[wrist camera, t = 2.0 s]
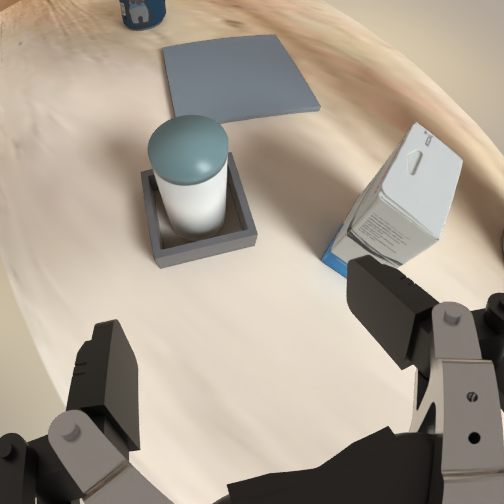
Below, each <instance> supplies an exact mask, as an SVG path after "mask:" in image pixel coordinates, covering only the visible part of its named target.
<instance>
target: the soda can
mask: <svg viewBox="0 0 504 504" xmlns="http://www.w3.org/2000/svg"><path fill="white" fill-rule="evenodd" d="M119 1H120V6H121V12H122V17H123V22H124V24H125V25H126V26H127V27H128V28H130V29H131V30H136V31H139V30H146V29H150V28H153V27H155V26H157V25H159V24H160V23H161V22H162V20H163V18H164V17H165V14H166V7H165V0H119Z"/></svg>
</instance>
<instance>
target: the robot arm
mask: <svg viewBox="0 0 504 504" xmlns="http://www.w3.org/2000/svg"><path fill="white" fill-rule="evenodd" d="M503 252H504V234H503ZM347 303H348V306H349V308H350V310H351V312H352V313H353V314H354V315H355V317H356V318H357V319H358V320H359V321H360V322H361V323H362V325H363V326H364V327H365V328H366V329H367V330H368V331H369V333H370V334H371V335H372V336H373V337H374V338H375V339H376V341H377V342H378V343H379V344H380V345H381V346H382V348H383V349H384V350H385V351H386V352H387V353H388V355H389V356H390V357H391V358H392V359H393V360H394V362H395V363H396V364H397V365H398V366H399V367H400V369H401V370H403V369H405V368H407V367H409V366H411V365H413V364H414V365H415V367H416V368H417V369H416V372H415V383H414V402H413V415H412V422H411V426H410V429H409V433H399V434H394V433H393V432H392V430H391V429H390V428H389V426H387V427H385V428H383V429H381V430H379V431H377V432H375V433H373V434H371V435H369V436H367V437H365V438H362V439H360V440H358V441H356V442H354V443H352V444H351V445H349V446H348V447H347V448H345V449H344V450H343V451H341V452H340V453H338V454H337V455H336V456H334V457H333V458H331V459H330V460H328V461H327V462H325V463H324V464H322V465H321V466H319V467H317V468H314V469H307V470H299V471H291V472H280V473H269V474H266V475H262V476H258V477H255V478H251V479H247V480H243V481H239V482H235V483H231V484H227V488H228V491H229V494H228V495H226V496H224V497H222V498H221V499H219V500H217V501H216V502H214V503H213V504H504V440H503V427H502V417H501V409H502V410H503V412H504V293H495V294H492V295H491V296H490V297H489V299H488V302H487V305H486V308H484V309H479V310H474V311H470V310H469V309H468V308H466V307H465V306H463V305H461V304H459V303H456V302H442V303H439V302H438V301H437V300H435V299H434V298H433V297H432V296H431V295H429V294H428V293H427V292H426V291H424V290H423V289H422V288H421V287H419V286H418V285H417V284H416V283H415V284H414V282H413V281H412V280H411V279H409V278H406V275H404V274H403V273H402V272H400V271H399V270H398V269H396V268H394V267H391V266H388V265H386V264H381V263H380V262H379V261H377V260H376V259H375V258H374V257H372V256H371V255H364V256H361V257H358V258H354V259H351V260H349V261H348V264H347ZM500 408H501V409H500ZM137 450H140V436H139V409H138V365H137V361H136V357H135V355H134V352H133V350H132V348H131V346H130V344H129V342H128V340H127V338H126V336H125V334H124V331H123V329H122V327H121V325H120V323H119V321H118V320H116V319H115V320H110V321H106V322H101V323H97V324H95V326H94V330H93V335H92V339H91V340H90V341H85V343H84V344H83V345H82V347H81V348H80V350H79V351H78V353H77V357H76V362H75V367H74V371H73V377H72V380H71V385H70V390H69V396H68V401H67V407H66V412H64V413H62V414H60V415H58V416H57V417H56V418H55V419H54V420H53V422H52V423H51V425H50V427H49V431H48V435H45V436H43V437H40V438H38V439H35V440H32V441H30V442H26V441H25V440H24V439H23V438H22V437H21V436H20V435H18V434H16V433H8V434H5V435H4V436H2V437H1V438H0V504H35V497H36V498H37V504H80V500H79V499H80V498H82V500H83V502H84V503H85V504H174V503H173V502H172V501H170V500H169V499H168V498H167V497H166V496H165V495H163V494H162V493H161V492H160V491H159V490H158V489H157V488H156V487H154V486H153V485H152V484H151V483H150V482H149V481H148V480H147V479H146V478H145V477H144V476H143V475H142V474H141V473H140V472H139V471H138V470H137V469H136V468H135V467H134V466H133V465H132V464H131V463H130V462H129V451H137Z"/></svg>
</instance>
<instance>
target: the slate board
mask: <svg viewBox="0 0 504 504" xmlns="http://www.w3.org/2000/svg"><path fill="white" fill-rule="evenodd" d="M163 55H164V60H165V66H166V71H167V77H168V82H169V87H170V92H171V97H172V102H173V107H174V112H175V117H179V116H183V115H200V116H205V117H208V118H210V119H212V120H214V121H216V122H217V123H218V124H220V123H226V122H232V121H238V120H245V119H252V118H259V117H266V116H274V115H283V114H292V113H301V112H312V111H319V110H320V107H321V106H320V104H319V103H318V101H317V99H316V97H315V96H314V94H313V92H312V91H311V89H310V87H309V86H308V84H307V82H306V81H305V79H304V78H303V76H302V74H301V73H300V71H299V70H298V68H297V66H296V65H295V63H294V62H293V60H292V59H291V57H290V56H289V54H288V53H287V51H286V50H285V48H284V47H283V45H282V44H281V42H280V41H279V39H278V38H277V36H276V35H257V36H243V37H232V38H222V39H214V40H206V41H199V42H192V43H186V44H180V45H174V46H169V47H164V48H163Z"/></svg>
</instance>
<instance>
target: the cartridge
mask: <svg viewBox="0 0 504 504" xmlns="http://www.w3.org/2000/svg"><path fill="white" fill-rule="evenodd" d="M148 155H149V158H150V162H151V165H152V168H153V172H154V175H155V178H156V181H157V184H158V187H159V191H160V194H161V197H162V200H163V203H164V206H165V209H166V212H167V215H168V218H169V221H170V224H171V226H172V228H173V230H174V231H175V232H176V233H177V234H178V235H179V236H181V237H183V238H185V239H188V240H192V241H200V240H205V239H208V238H210V237H212V236H213V235H215V234H216V233H217V232H218V231H219V230H220V229H221V227H222V225H223V223H224V220H225V210H226V183H227V159H228V137H227V134H226V132H225V130H224V129H223V128H222V126H221V125H220V124H218V123H217V122H216V121H214V120H212V119H210V118H208V117H205V116H200V115H183V116H179V117H175V118H173V119H170V120H168V121H166V122H165V123H163V124H162V125H160V126H159V127H158V128H157V129H156V130H155V132H154V133H153V134H152V136H151V138H150V140H149V143H148Z"/></svg>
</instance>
